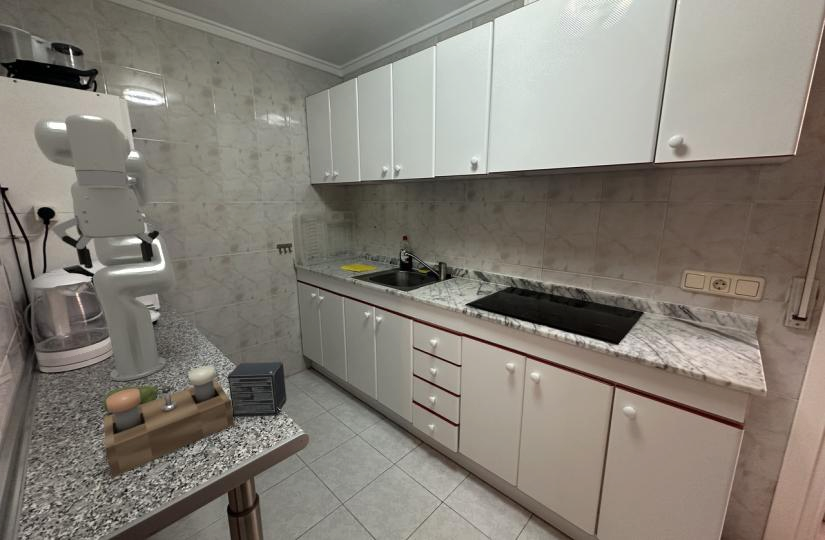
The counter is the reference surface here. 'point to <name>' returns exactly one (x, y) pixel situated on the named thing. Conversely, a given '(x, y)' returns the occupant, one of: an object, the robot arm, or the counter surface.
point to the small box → (257, 389)
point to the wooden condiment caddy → (166, 428)
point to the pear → (145, 393)
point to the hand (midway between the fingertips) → (119, 264)
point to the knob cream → (203, 382)
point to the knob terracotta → (125, 408)
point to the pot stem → (168, 400)
